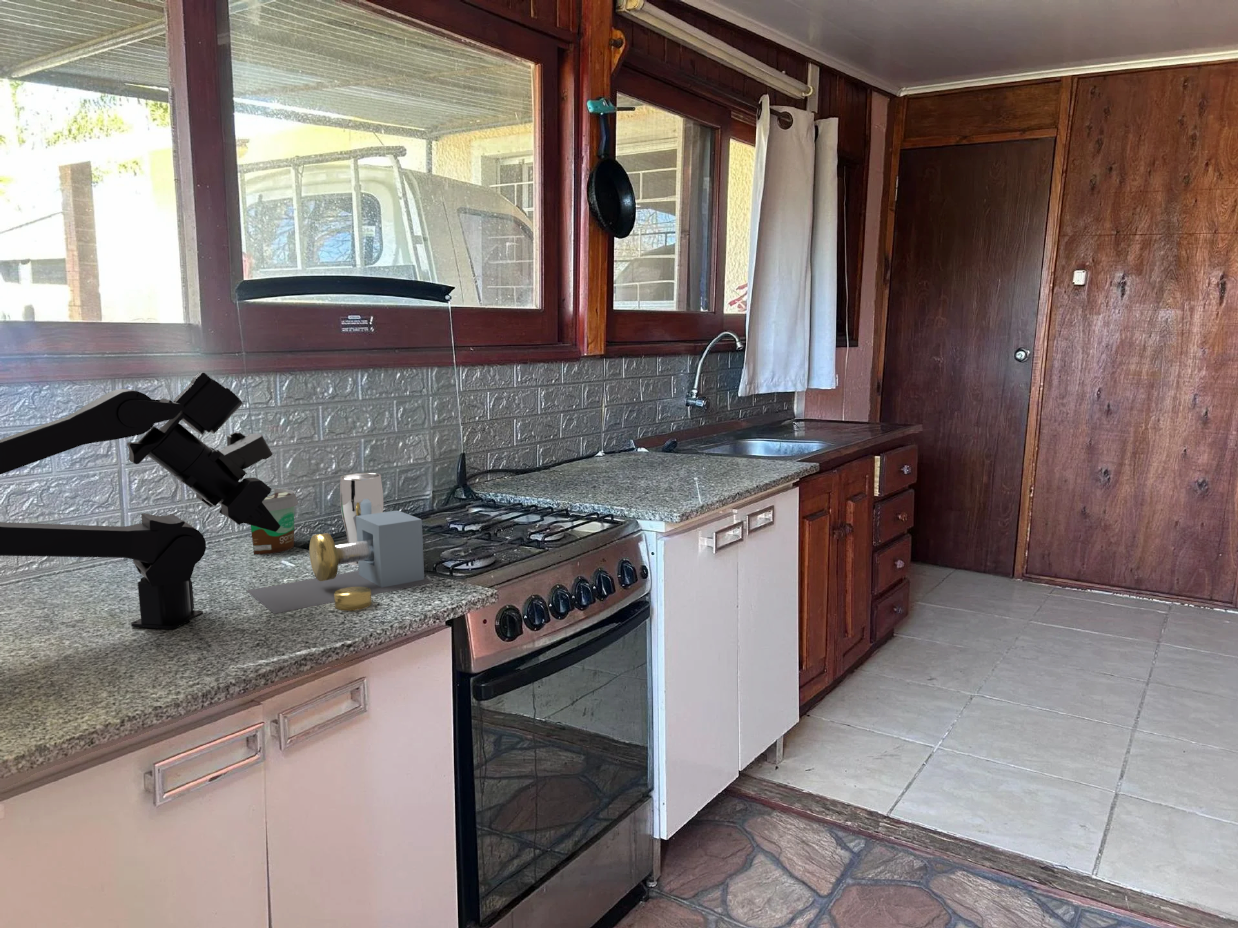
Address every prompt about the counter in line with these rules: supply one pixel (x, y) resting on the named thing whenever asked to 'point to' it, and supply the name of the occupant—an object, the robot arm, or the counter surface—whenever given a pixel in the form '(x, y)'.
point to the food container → (283, 512)
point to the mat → (317, 591)
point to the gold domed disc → (352, 598)
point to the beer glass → (359, 500)
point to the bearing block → (392, 548)
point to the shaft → (336, 555)
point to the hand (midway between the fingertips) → (277, 528)
